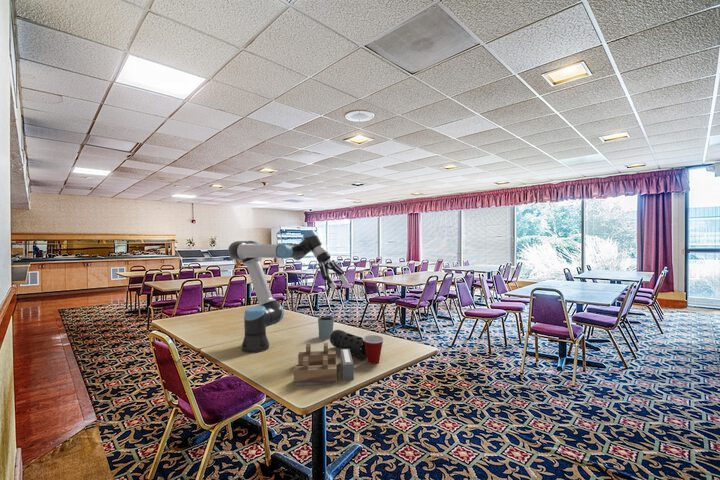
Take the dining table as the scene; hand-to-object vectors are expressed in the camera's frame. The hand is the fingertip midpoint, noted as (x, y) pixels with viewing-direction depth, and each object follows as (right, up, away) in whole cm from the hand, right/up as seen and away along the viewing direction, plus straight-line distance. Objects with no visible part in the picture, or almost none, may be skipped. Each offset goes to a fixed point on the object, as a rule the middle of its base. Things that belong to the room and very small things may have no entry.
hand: (341, 286), depth 190 cm
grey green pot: (-11, -36, +29) cm, 48 cm away
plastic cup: (+17, -36, -16) cm, 43 cm away
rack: (-10, -36, -30) cm, 47 cm away
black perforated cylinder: (+5, -36, -1) cm, 36 cm away
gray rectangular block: (+4, -36, -28) cm, 45 cm away
